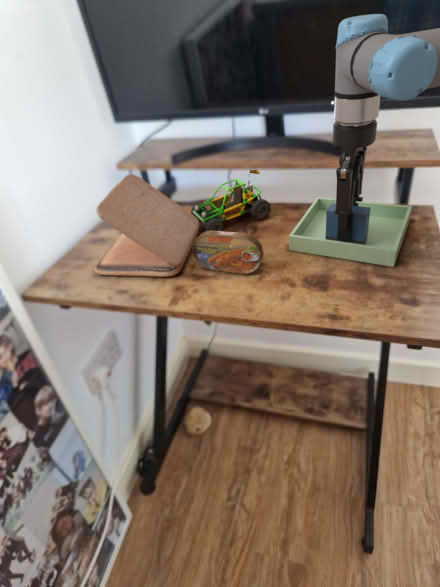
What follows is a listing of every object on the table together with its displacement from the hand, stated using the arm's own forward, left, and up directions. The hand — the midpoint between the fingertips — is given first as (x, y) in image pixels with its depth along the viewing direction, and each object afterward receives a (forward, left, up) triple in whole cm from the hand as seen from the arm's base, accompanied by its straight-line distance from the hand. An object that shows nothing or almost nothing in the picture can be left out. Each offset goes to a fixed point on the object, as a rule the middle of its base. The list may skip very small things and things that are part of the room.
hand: (346, 235), depth 86 cm
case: (+41, +16, -2) cm, 44 cm away
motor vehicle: (+30, -4, -2) cm, 30 cm away
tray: (0, -4, -2) cm, 4 cm away
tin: (+20, +16, -2) cm, 26 cm away
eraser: (0, 0, -1) cm, 1 cm away
